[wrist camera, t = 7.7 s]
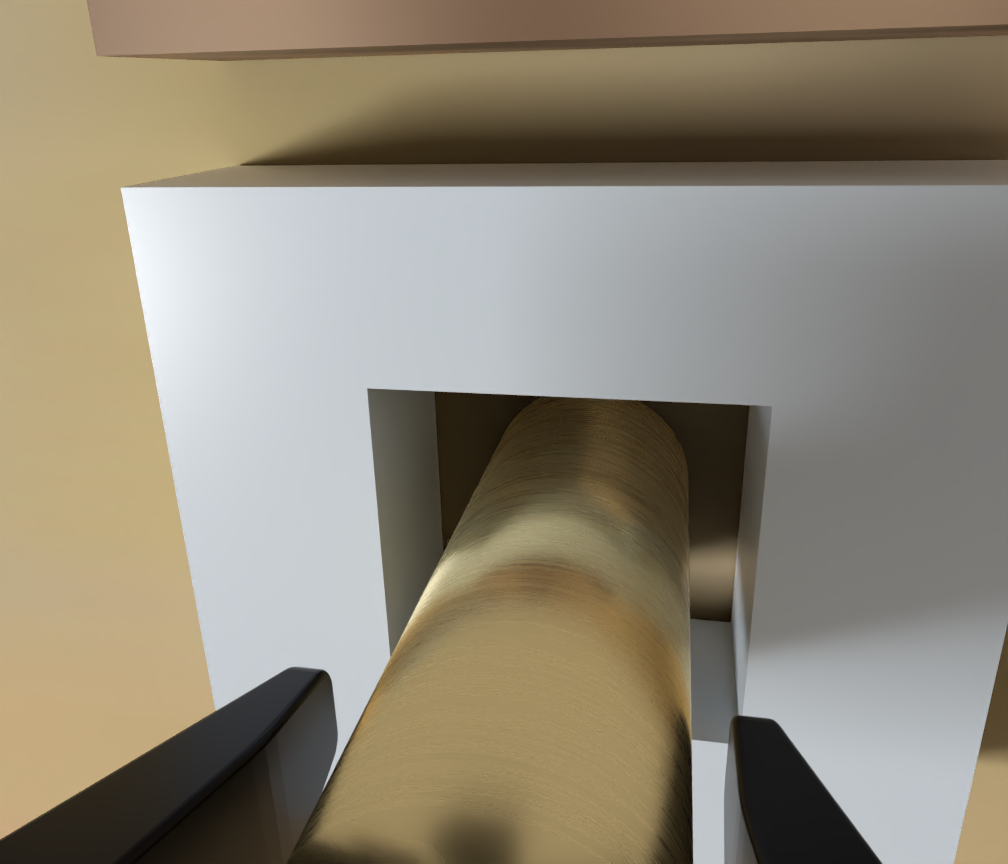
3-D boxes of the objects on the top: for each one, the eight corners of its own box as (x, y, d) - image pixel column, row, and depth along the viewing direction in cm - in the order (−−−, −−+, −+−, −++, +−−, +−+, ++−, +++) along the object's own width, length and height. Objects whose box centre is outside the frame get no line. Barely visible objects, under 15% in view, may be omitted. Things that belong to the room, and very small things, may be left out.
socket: (1007, 159, 11) (1106, 185, 9) (897, 760, 15) (942, 910, 12) (235, 165, 14) (121, 187, 11) (305, 691, 17) (232, 806, 15)
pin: (694, 386, 14) (711, 842, 6) (682, 563, 15) (683, 1158, 7) (494, 378, 14) (240, 781, 6) (499, 549, 15) (292, 1079, 7)
